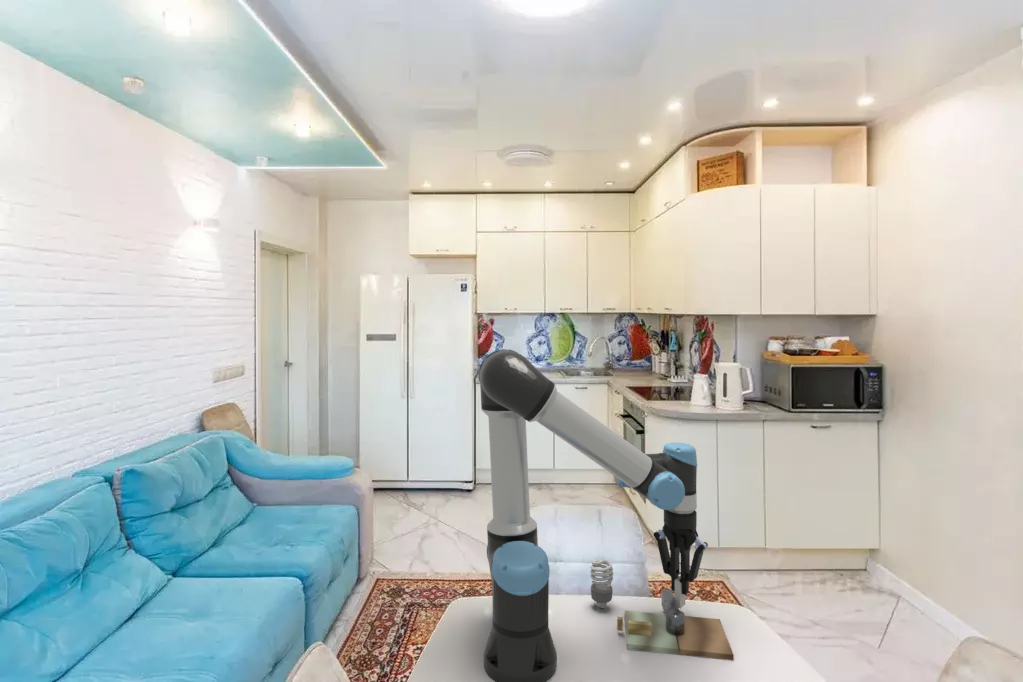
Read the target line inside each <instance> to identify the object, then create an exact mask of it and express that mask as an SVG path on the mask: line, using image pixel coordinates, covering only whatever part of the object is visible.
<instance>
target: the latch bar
mask: <svg viewBox="0 0 1023 682" xmlns="http://www.w3.org/2000/svg"><path fill="white" fill-rule="evenodd" d="M673 592H674V591H672V589H661V607H662V610H663V614H665V617H666V630H667V632H669V633H671V634H673V635H682V634H684V622H685V616H686V614H685V613H684V611H683V610H681V609H680V608H678V605H677V603H676V600H675V594H674V593H673Z"/></svg>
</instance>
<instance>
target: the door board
mask: <svg viewBox="0 0 1023 682" xmlns="http://www.w3.org/2000/svg"><path fill="white" fill-rule="evenodd" d="M616 620H617V621H616V624H617V625H616V627H617V628H616V630H617V631H623V630H624V629H625V645H626V650H631V651H632V650H633V651H640V652H649V653H657V654H658V653H661V654H669V655H680V656H689V657H699V658H708V659H716V660H725V661H726V660H728V661H734V656H735V655H734V652H733V650H732V648H731V644H730V642H729V640H728V636H727V635H726V632H725V629H724V627H723V624H722V621H721V620H720V618H712V617H711V618H710V617H702V616H690V615H685V622H684V634H682V635H673V634H671V633H669V632H667V630H666V617H665V614H664V613H658V612H647V611H646V612H645V611H635V610H624V617H623V616H617V617H616ZM623 620H624V621H623ZM623 622H624V623H623ZM624 627H625V628H624Z"/></svg>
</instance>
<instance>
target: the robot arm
mask: <svg viewBox="0 0 1023 682" xmlns="http://www.w3.org/2000/svg"><path fill="white" fill-rule="evenodd" d="M477 375H478V381H479V387H480V388H479V390H480V403H481V405H480V406H481V407H480V408H481V411H482V412H483V413H484V414H485V415H486V416H487V417H488V435H489V436H488V437H489V456H490V459H489V460H490V477H491V478H490V479H491V480H490V481H491V497H492V498H491V499H492V501H491V502H492V519H491V520H490V521H489V522H488V523H487V524H486V530H487V532H486V533H487V545H486V558H487V561H488V566H489V572H490V581H491V588H492V626H491V629H490V633H489V635H488V639H487V642H486V645H485V648H484V653H483V667H484V670H485V672H486V673H487V675H488V677H490V678H491V679H492V680H494V681H496V682H546V681H547V680H549V679H550V678H551V677H553V676H554V675H555V673H556V670H557V665H558V663H557V661H558V660H557V659H558V655H557V654H558V653H557V650H556V646H555V643H554V639H553V636H552V634H551V631H550V628H549V604H550V603H549V601H550V599H549V594H550V593H549V588H550V587H549V585H550V584H549V583H550V581H549V578H550V571H551V570H550V564H549V559H548V557H549V556H548V555H547V553H546V551H545V550H544V549H543V548H542V547H541V546H539V543H538V542H539V541H538V523H537V521H536V520H535V519H534V518H533V517H531V511H530V510H531V509H530V489H529V488H530V487H529V466H528V465H529V463H528V462H529V461H528V443H527V422H528V423H531V422H537V423H539V424H540V425H541V426H543V427H544V428H546V429H547V430H548V431H550V432H551V433H553V434H554V435H555V436H557V437H559V438H560V439H561V440H563V441H564V442H566V443H567V444H568V445H570V446H571V447H572V448H574V449H575V450H577V451H579V452H580V453H581V454H583V455H584V456H585V457H587V458H589V459H590V460H592V461H593V462H594V463H596V464H597V465H598V466H600V467H601V468H603V469H604V470H606V471H607V472H608V473H610V474H612V476H613V477H614V481H615V483H616V485H617V486H618V487H619V488H628V489H632V490H634V491H635V492H636V493H638V494H639V495H641V496H642V497H644V498H645V499H646V500H648V501H649V503H651V504H652V505H653V506H655V507H657V508H658V509H660V510H663V526H662V529H658V530H657V531H655V532H654V533H653V537H654V540H655V541H656V542H657V546H658V547H657V548H658V552H659V556H660V561H661V565H662V570H663V573H664V574H665V575H669V576H670V579H671V580H670V581H671V583H670V584H671V585H670V590H672V592H674V598H675V600H676V603H677V605H678V608H679V610H681V609H682V608H683V607H684V606H685V605H686V595H687V594H689V592H690V583H692V582H694V581H695V580H696V579H697V578H698V575H699V571H700V567H701V563H702V560H703V555H704V552H705V550H706V549H707V548H708V546H709V543H708V542H707V541H704V542H703V540H701V539H700V538H699V533H698V531H697V527H698V526H697V522H698V521H697V516H698V515H697V511H696V510H697V508H698V505H697V504H698V503H697V472H698V470H697V469H698V461H697V460H698V459H697V449H696V448H695V446H693V445H691V444H690V443H685V442H670V443H669V442H668V443H666V444H664V446H663V448H662V449H663V450H662V452H660V453H659V452H658V453H644V452H643V451H641V450H640V448H639V449H638V448H637V447H636V446H634V445H633V444H632V443H630V442H629V441H627V440H626V439H624V438H623V437H622V436H620V435H619V434H618V433H616V432H615V431H613V430H612V429H611V428H610V427H608V426H607V425H605V424H604V423H602V422H601V421H599V420H598V419H597V418H595V417H594V416H592V415H591V414H590V413H588V412H587V411H585V410H584V409H583V408H581V407H579V406H578V405H577V404H576V403H575V402H573V401H572V400H570V399H569V398H567V397H566V396H565V395H563V394H562V393H560V392H558V390H557V386H556V385H557V384H556V383H555V382H553V381H551V379H549V378H548V377H547V376H545V374H543V373H542V372H541V371H540V370H539V369H538V368H536V367H535V365H534V364H533V363H532V362H531V361H530V360H529V359H528V358H527V357H526V356H524V355H522V354H521V353H519V352H518V351H515V350H512V349H504V348H503V349H496V350H494V351H491V352H490V353H489V354H487V355H486V356H485V357H484V358H483V360H481V363H480V365H479V368H478V374H477ZM667 541H668V542H667ZM668 543H669V546H668ZM694 543H695V545H694V549H695V551H694V553H693V557H692V559H691V555H690V553H691V547H692V546H693V544H694ZM690 559H691V560H692V561H691V560H690Z"/></svg>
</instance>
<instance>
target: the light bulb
mask: <svg viewBox="0 0 1023 682" xmlns="http://www.w3.org/2000/svg"><path fill="white" fill-rule="evenodd" d="M591 564H592V565H590V579H591V583H592V584H591V585H590V586H591V587H590V595H591V596H590V597H591V599H592V600H593V601H594V602H595V603H596V606H597V607H599V608H600V609H603V608H606V607H607V604H608V603H609V602H611V601H612V599H613V592H614V591H613V587H612V582H613V580H614V572H613V571H614V568H613V565H612V563H611V562H610V561H609V560H608V559H594V560H592V561H591Z"/></svg>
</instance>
